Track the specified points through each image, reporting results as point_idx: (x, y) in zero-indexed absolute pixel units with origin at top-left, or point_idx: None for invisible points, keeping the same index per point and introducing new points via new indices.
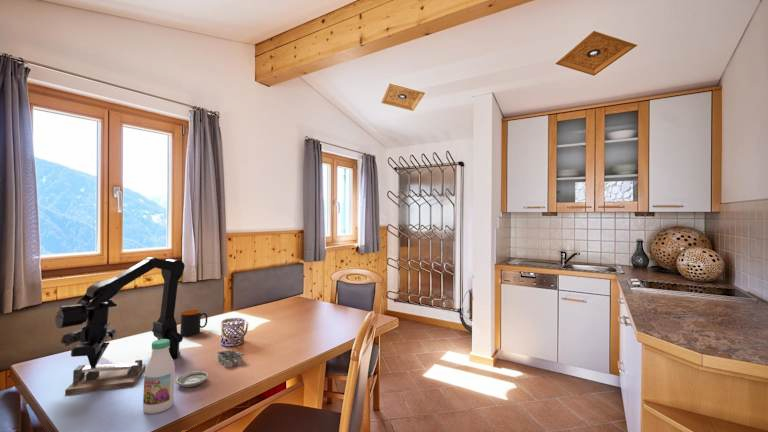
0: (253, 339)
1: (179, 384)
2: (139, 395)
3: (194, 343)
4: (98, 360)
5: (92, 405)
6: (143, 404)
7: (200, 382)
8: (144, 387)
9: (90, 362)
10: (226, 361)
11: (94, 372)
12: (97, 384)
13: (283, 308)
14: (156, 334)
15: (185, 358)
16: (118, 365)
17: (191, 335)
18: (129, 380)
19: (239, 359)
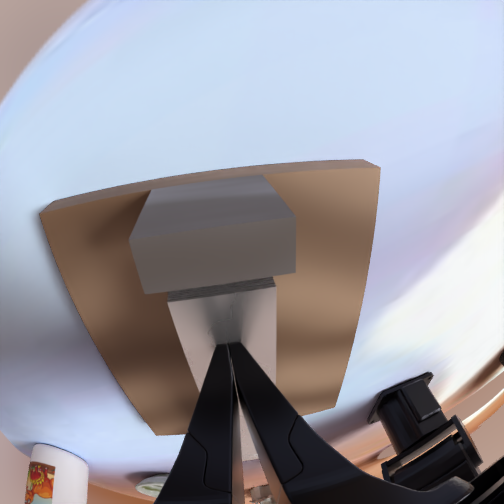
0: (391, 458)
1: (137, 484)
2: (96, 436)
3: (453, 391)
4: (246, 421)
5: (11, 362)
6: (33, 457)
7: (155, 493)
8: (27, 492)
9: (200, 398)
10: (251, 501)
11: None
12: (117, 351)
13: (497, 406)
14: (439, 469)
15: (356, 432)
16: (243, 431)
17: (502, 357)
18: (164, 427)
19: (261, 502)
